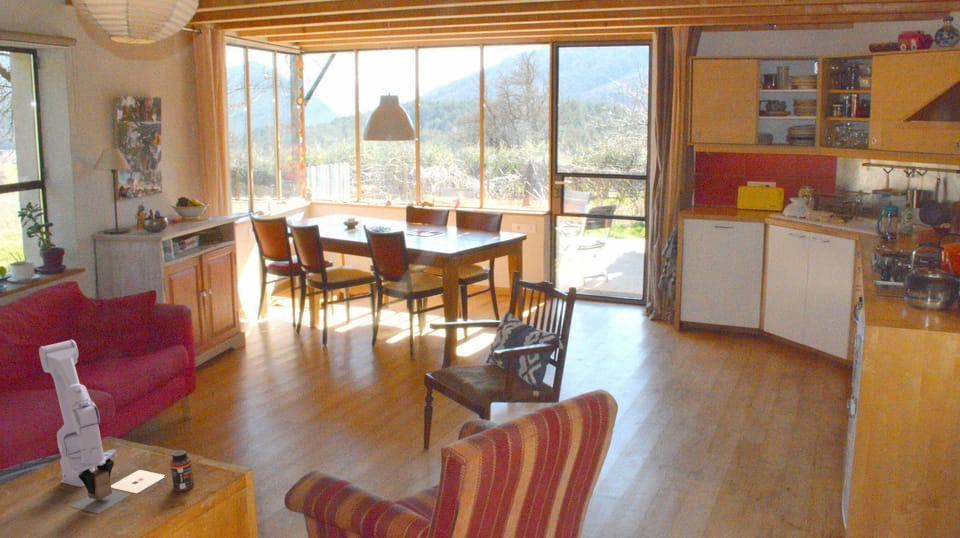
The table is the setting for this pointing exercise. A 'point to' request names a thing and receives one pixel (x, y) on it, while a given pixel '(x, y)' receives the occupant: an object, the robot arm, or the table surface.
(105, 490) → the walnut block
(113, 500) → the grey mat
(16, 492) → the table surface
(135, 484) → the cream mat
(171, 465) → the supplement bottle
